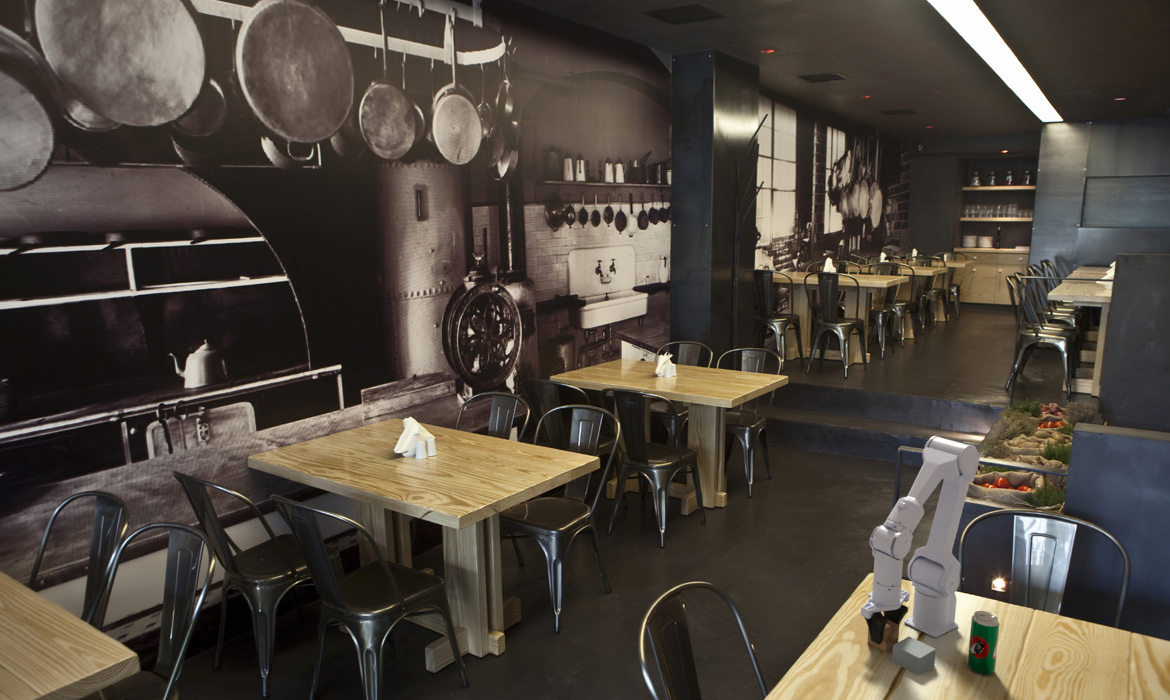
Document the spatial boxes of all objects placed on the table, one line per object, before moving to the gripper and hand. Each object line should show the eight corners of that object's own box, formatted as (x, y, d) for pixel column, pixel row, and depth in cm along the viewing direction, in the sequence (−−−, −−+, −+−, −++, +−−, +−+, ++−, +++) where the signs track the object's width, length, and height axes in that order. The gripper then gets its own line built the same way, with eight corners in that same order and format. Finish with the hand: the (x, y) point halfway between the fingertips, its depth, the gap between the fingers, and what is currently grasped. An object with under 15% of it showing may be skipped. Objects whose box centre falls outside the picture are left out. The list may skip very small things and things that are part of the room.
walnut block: (879, 637, 167) (881, 616, 166) (897, 646, 163) (899, 625, 162) (867, 643, 164) (868, 622, 164) (885, 652, 161) (886, 631, 160)
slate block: (907, 653, 161) (909, 636, 160) (934, 666, 156) (935, 648, 155) (891, 662, 157) (893, 645, 157) (918, 676, 153) (919, 658, 152)
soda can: (998, 677, 152) (1003, 623, 150) (971, 674, 153) (976, 620, 151) (990, 663, 157) (995, 611, 155) (964, 661, 158) (969, 608, 156)
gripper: (891, 566, 169) (887, 621, 171) (850, 582, 161) (846, 640, 163) (919, 578, 163) (915, 635, 165) (878, 595, 155) (874, 655, 157)
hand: (883, 638), depth 164 cm, fingers closed on walnut block, 4 cm apart
